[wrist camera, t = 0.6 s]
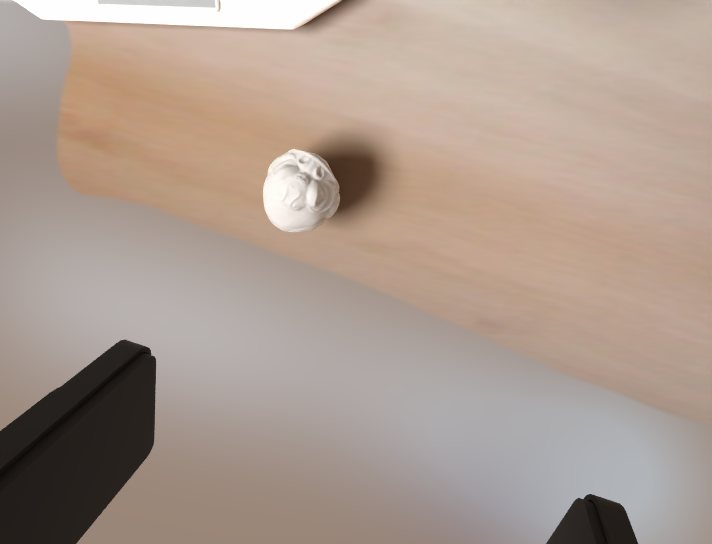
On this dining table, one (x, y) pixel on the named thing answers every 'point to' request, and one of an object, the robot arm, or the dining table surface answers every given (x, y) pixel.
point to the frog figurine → (300, 191)
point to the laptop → (185, 11)
